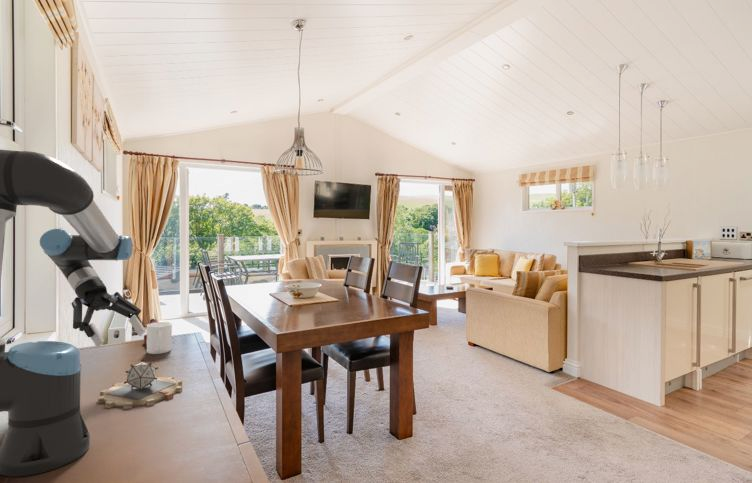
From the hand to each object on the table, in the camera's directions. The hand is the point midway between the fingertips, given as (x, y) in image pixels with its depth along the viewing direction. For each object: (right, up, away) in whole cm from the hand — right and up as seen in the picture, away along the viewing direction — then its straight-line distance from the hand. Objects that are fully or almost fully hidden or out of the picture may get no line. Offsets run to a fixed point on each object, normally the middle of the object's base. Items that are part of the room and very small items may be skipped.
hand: (122, 338), depth 121 cm
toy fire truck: (-17, -14, +48) cm, 52 cm away
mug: (-9, -15, +36) cm, 40 cm away
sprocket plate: (+7, -15, -3) cm, 17 cm away
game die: (+8, -14, -3) cm, 16 cm away
